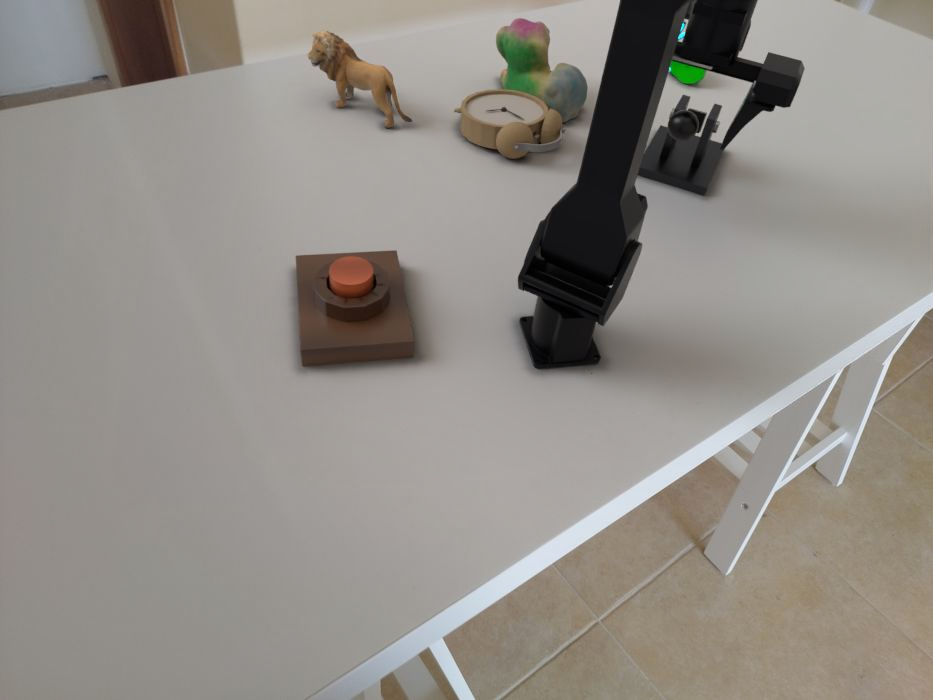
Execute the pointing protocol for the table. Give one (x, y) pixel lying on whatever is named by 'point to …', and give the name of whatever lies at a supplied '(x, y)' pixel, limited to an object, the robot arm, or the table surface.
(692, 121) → the lever
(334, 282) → the button
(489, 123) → the alarm clock
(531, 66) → the sculpture
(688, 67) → the stick construction toy
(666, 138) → the bracket
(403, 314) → the button block
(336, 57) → the lion figurine
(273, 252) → the table surface
